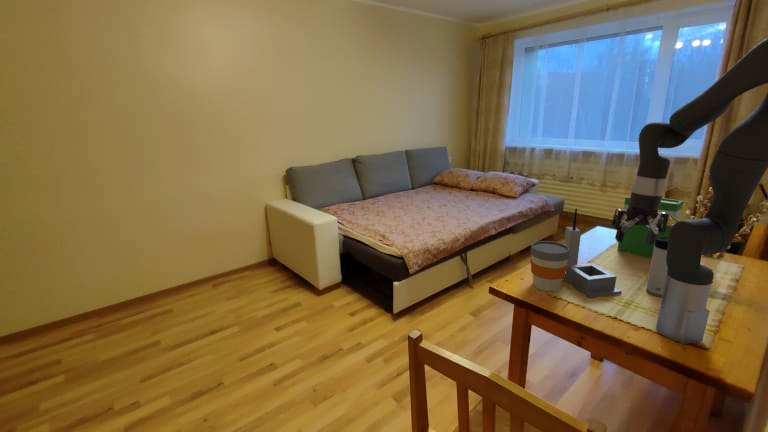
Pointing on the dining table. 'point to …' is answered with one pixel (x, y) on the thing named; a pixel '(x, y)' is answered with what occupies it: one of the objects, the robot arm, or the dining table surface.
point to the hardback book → (638, 233)
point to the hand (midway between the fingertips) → (633, 243)
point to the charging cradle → (591, 280)
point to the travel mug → (658, 268)
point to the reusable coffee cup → (548, 264)
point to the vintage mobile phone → (573, 242)
